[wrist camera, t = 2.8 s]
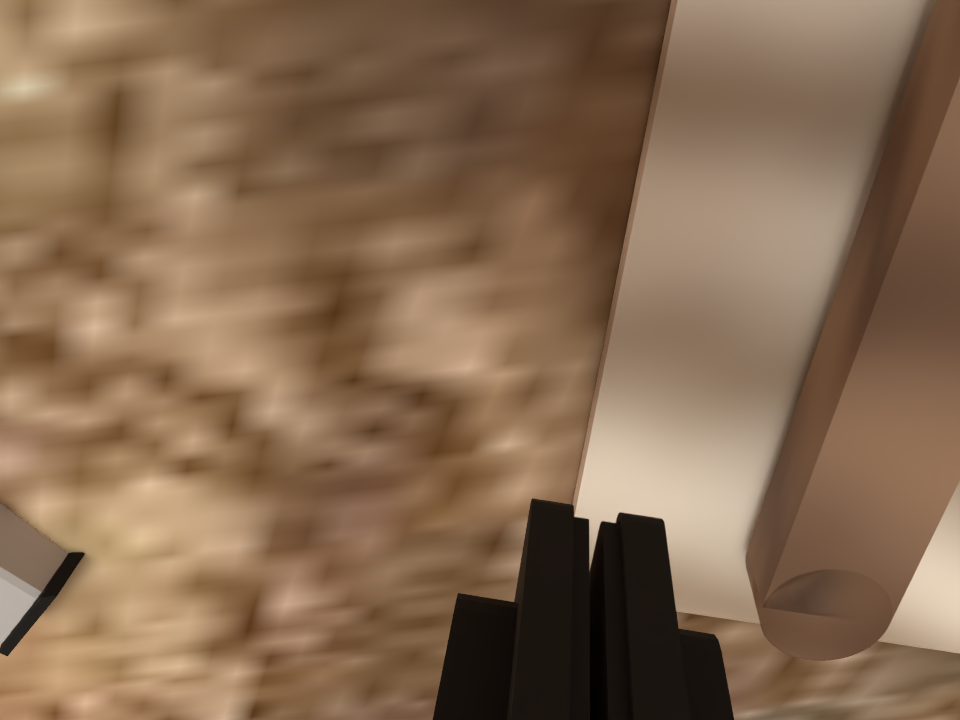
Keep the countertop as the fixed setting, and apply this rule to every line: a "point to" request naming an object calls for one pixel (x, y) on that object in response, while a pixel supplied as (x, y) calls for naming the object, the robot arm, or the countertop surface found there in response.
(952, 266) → the walnut link
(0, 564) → the toy gun
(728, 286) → the hinge board
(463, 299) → the countertop surface
